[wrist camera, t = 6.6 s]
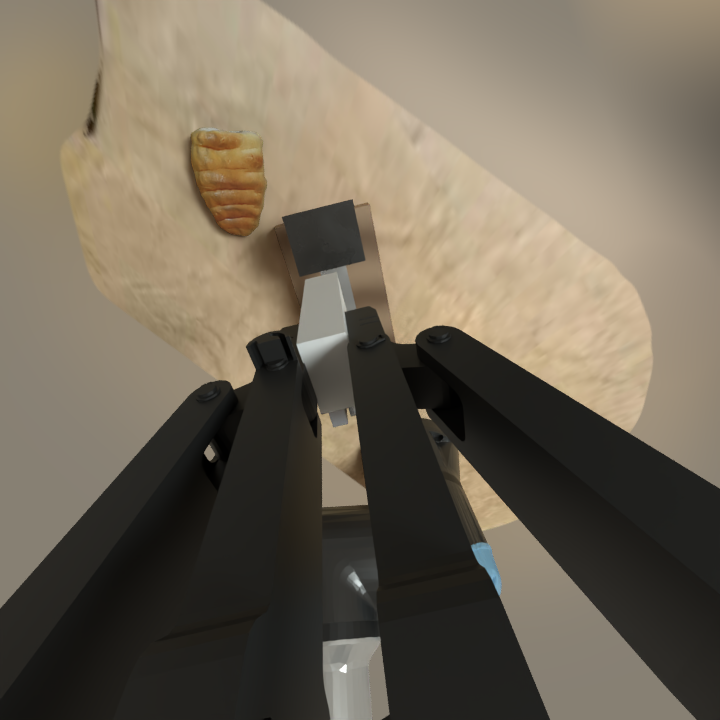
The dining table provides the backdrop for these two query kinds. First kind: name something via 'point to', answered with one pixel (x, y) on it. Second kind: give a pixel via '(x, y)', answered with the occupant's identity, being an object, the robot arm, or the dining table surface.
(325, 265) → the lever
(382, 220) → the dining table surface
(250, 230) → the pastry
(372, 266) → the nutcracker base
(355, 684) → the robot arm
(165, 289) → the dining table surface
